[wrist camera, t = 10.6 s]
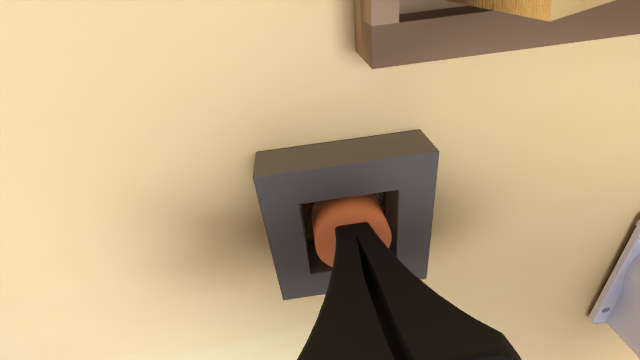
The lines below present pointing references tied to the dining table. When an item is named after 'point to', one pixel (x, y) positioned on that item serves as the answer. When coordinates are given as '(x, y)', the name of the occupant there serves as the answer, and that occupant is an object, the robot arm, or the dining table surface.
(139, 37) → the dining table surface
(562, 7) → the block
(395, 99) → the dining table surface
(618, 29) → the brown compartment tray
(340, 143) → the button housing
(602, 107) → the dining table surface
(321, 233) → the button
